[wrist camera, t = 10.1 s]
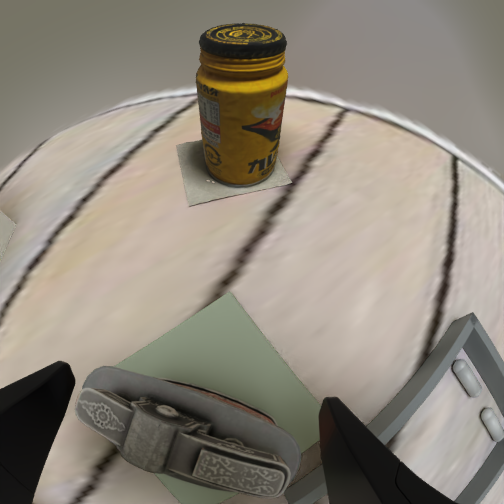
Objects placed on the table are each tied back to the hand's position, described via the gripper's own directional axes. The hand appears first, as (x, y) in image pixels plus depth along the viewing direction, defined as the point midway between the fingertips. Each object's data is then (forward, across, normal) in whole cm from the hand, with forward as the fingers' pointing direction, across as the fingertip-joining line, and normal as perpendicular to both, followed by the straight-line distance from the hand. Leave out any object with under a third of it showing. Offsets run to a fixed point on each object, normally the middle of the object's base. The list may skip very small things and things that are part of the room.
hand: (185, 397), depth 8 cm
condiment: (+18, 0, -7) cm, 20 cm away
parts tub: (+1, -16, +10) cm, 19 cm away
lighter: (+4, 0, +7) cm, 8 cm away
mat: (+5, 0, +7) cm, 8 cm away
